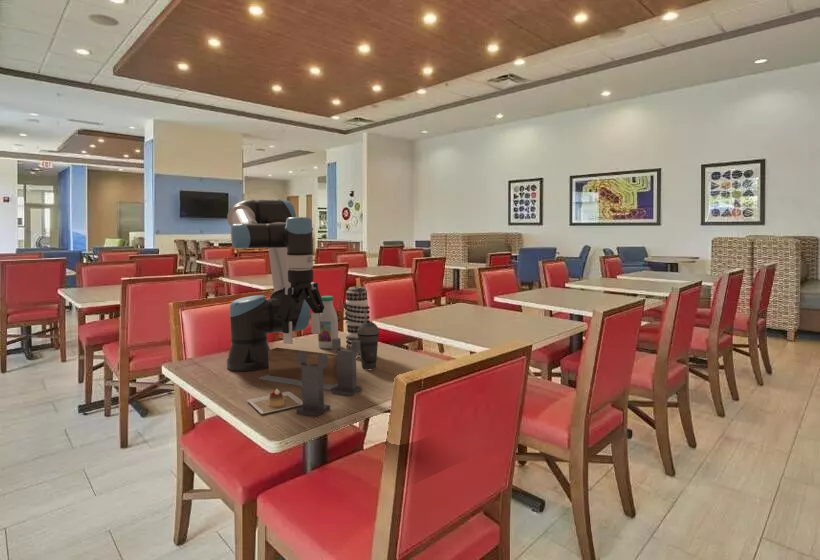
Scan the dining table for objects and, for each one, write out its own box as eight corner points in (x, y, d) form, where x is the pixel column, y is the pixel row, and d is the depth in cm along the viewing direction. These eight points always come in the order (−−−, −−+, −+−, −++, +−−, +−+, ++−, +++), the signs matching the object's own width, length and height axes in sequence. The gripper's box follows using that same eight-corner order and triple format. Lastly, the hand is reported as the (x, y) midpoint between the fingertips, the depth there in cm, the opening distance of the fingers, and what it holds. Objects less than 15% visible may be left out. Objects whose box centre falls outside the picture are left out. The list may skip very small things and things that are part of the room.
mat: (259, 379, 149) (259, 377, 149) (281, 370, 158) (281, 369, 158) (330, 390, 138) (330, 388, 138) (349, 380, 147) (349, 378, 147)
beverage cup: (376, 371, 156) (375, 310, 154) (355, 370, 157) (353, 309, 155) (382, 365, 163) (381, 306, 161) (361, 364, 164) (360, 306, 162)
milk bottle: (331, 343, 195) (330, 294, 193) (342, 346, 189) (341, 296, 187) (314, 346, 190) (313, 296, 188) (325, 350, 184) (324, 298, 182)
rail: (333, 385, 141) (332, 358, 140) (269, 375, 151) (267, 350, 150) (340, 381, 145) (340, 355, 144) (277, 371, 155) (276, 347, 154)
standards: (293, 412, 121) (291, 354, 120) (341, 386, 141) (339, 336, 140) (319, 417, 118) (317, 358, 116) (364, 390, 138) (363, 338, 136)
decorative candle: (341, 353, 179) (340, 286, 176) (365, 350, 183) (363, 285, 180) (350, 359, 171) (348, 289, 168) (374, 356, 175) (373, 287, 172)
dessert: (247, 404, 130) (246, 386, 129) (289, 394, 136) (289, 378, 136) (261, 418, 120) (260, 399, 119) (306, 407, 127) (306, 389, 126)
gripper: (283, 273, 132) (285, 349, 134) (334, 265, 154) (335, 330, 157) (261, 272, 135) (264, 346, 137) (315, 264, 157) (316, 328, 160)
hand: (302, 338), depth 147 cm, fingers open, 13 cm apart
